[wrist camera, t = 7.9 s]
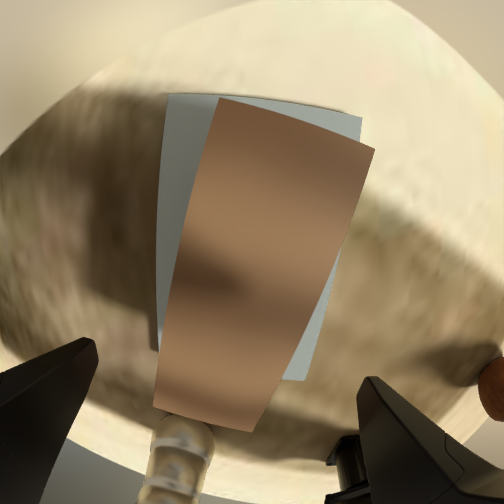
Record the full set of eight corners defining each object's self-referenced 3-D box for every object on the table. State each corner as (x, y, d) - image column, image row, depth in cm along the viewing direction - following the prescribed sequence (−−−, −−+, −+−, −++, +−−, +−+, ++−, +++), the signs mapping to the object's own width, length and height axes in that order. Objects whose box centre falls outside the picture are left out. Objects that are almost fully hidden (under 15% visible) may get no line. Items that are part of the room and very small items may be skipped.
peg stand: (303, 372, 23) (310, 416, 18) (163, 354, 23) (144, 394, 18) (357, 119, 16) (388, 108, 12) (173, 96, 16) (144, 79, 12)
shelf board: (253, 398, 17) (252, 432, 15) (165, 374, 17) (152, 406, 14) (351, 150, 12) (375, 149, 10) (229, 109, 12) (219, 97, 9)
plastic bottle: (216, 410, 25) (184, 601, 6) (219, 445, 27) (197, 599, 8) (153, 401, 25) (92, 573, 6) (164, 437, 27) (122, 581, 8)
